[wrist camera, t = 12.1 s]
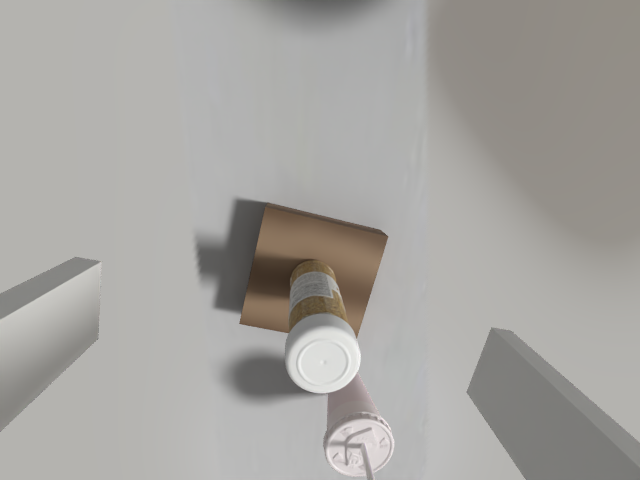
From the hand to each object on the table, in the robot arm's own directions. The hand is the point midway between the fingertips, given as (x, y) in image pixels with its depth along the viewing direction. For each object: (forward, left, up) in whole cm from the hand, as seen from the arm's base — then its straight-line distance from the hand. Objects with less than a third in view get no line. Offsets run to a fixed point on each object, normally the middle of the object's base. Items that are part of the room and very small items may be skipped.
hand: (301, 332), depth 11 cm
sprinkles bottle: (+5, +3, -21) cm, 21 cm away
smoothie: (+18, +10, -24) cm, 31 cm away
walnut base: (+5, +3, -23) cm, 24 cm away
